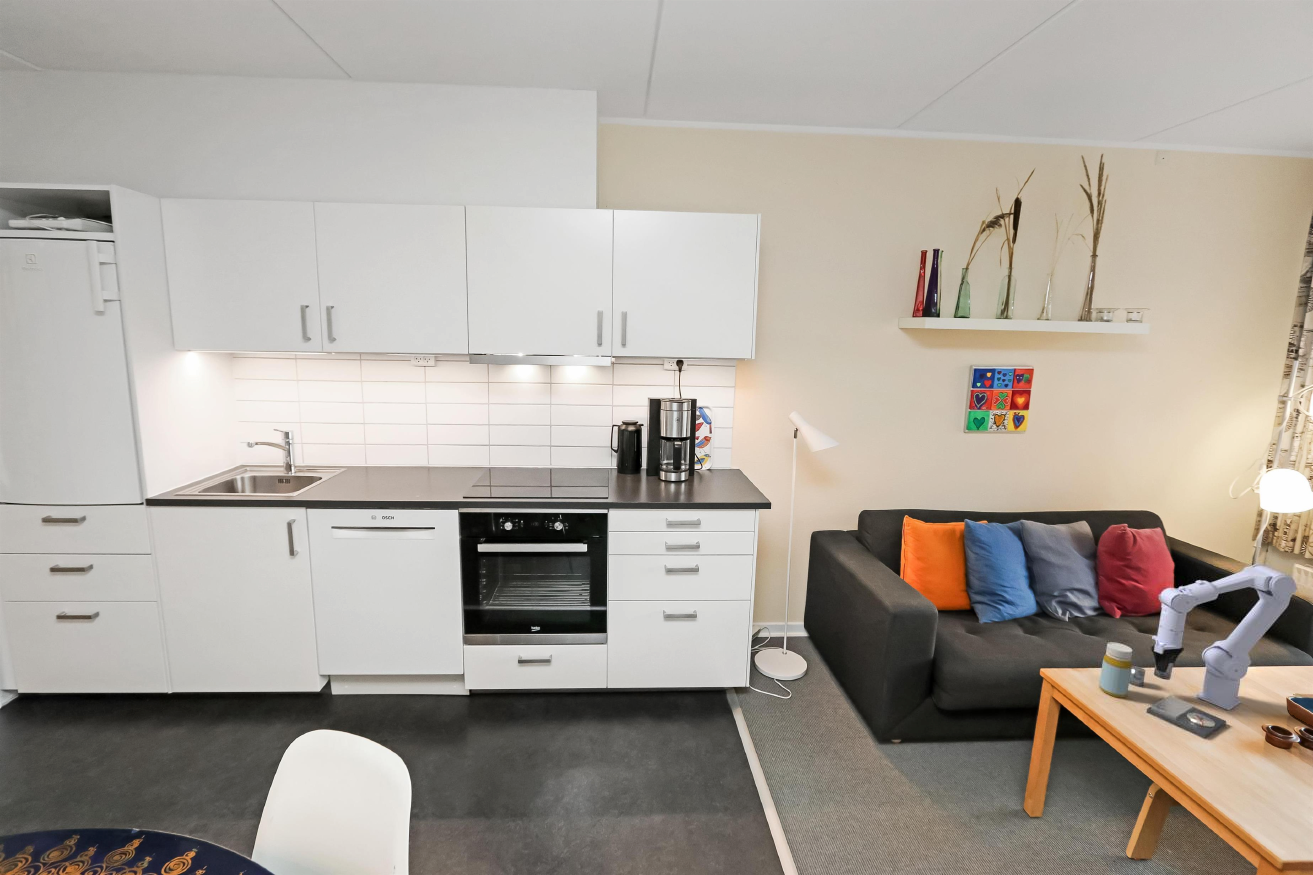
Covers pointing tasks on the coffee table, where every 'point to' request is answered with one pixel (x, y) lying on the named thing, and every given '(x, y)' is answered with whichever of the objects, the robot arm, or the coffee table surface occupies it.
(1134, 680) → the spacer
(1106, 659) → the bottle
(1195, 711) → the scale
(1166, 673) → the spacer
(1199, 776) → the coffee table surface
